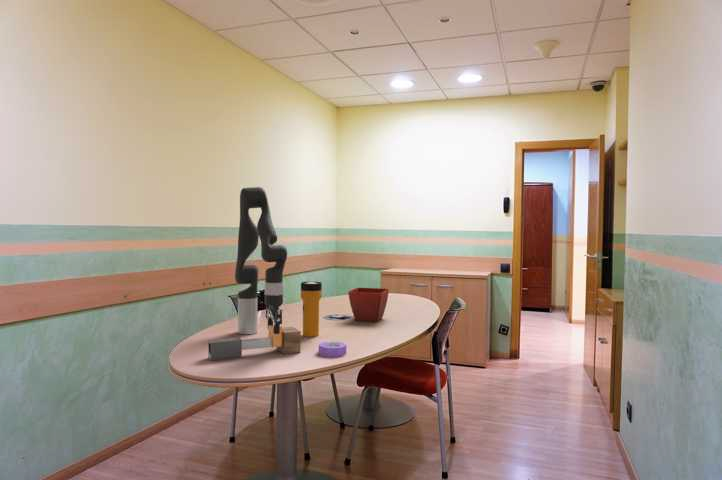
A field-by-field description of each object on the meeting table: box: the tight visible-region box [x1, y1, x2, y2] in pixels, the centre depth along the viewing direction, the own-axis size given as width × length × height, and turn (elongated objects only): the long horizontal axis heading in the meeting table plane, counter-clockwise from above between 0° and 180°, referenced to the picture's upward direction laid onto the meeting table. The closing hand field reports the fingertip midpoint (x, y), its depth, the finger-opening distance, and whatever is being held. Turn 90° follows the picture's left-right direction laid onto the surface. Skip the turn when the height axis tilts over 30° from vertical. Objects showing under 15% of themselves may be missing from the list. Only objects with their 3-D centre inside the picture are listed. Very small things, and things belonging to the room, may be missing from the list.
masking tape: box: [318, 340, 348, 358], centre depth 208 cm, size 12×12×4 cm
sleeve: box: [207, 336, 243, 362], centre depth 198 cm, size 5×12×7 cm, turn 118°
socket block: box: [276, 326, 302, 355], centre depth 210 cm, size 10×7×9 cm
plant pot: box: [348, 287, 390, 323], centre depth 282 cm, size 19×19×17 cm
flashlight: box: [300, 281, 323, 338], centre depth 240 cm, size 10×26×10 cm
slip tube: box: [241, 324, 283, 351], centre depth 205 cm, size 6×23×8 cm, turn 118°
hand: (273, 331), depth 207 cm, fingers open, 8 cm apart
